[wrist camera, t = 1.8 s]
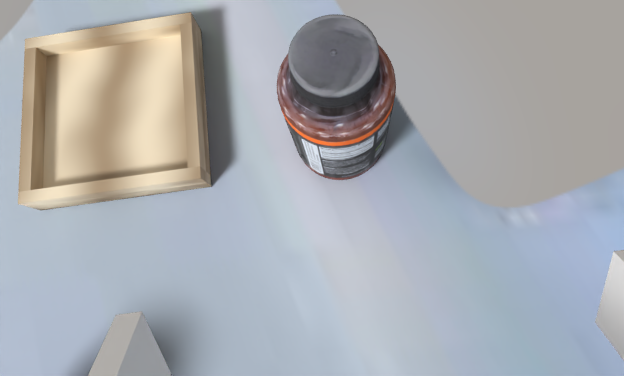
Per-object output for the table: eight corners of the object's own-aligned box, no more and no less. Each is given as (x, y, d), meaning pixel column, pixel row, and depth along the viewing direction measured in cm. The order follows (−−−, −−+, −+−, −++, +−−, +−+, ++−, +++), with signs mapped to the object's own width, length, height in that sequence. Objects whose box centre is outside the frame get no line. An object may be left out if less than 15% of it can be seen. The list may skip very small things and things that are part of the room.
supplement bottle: (299, 98, 31) (270, -10, 20) (385, 99, 31) (404, -11, 20) (293, 181, 30) (259, 114, 19) (383, 184, 29) (403, 117, 18)
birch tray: (201, 30, 33) (190, 12, 31) (211, 186, 30) (200, 178, 28) (45, 55, 34) (25, 38, 32) (41, 210, 31) (17, 203, 29)
